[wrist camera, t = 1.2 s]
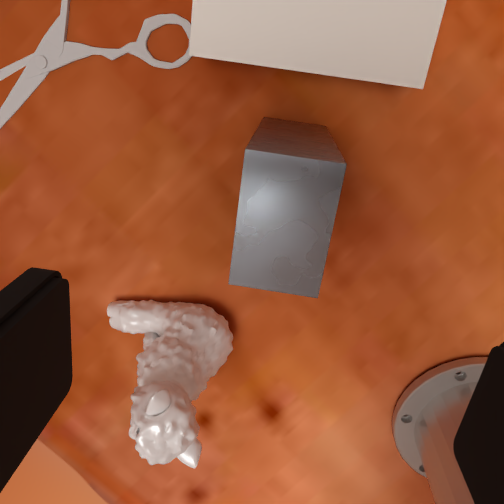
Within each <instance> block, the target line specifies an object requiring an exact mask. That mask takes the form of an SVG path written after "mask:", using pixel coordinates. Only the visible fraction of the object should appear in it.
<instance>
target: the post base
mask: <svg viewBox="0 0 504 504" xmlns="http://www.w3.org/2000/svg"><path fill="white" fill-rule="evenodd" d="M446 1H447V0H193V5H192V20H191V34H190V48H189V56H196V57H203V58H210V59H217V60H224V61H231V62H238V63H245V64H252V65H259V66H266V67H272V68H279V69H286V70H293V71H300V72H307V73H314V74H321V75H328V76H335V77H342V78H349V79H356V80H363V81H370V82H377V83H384V84H391V85H397V86H404V87H411V88H418V89H423V87H424V83H425V80H426V76H427V72H428V68H429V65H430V61H431V57H432V53H433V50H434V46H435V42H436V38H437V35H438V31H439V27H440V23H441V20H442V16H443V12H444V8H445V5H446Z"/></svg>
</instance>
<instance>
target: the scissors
mask: <svg viewBox="0 0 504 504" xmlns="http://www.w3.org/2000/svg"><path fill="white" fill-rule="evenodd" d="M69 7H70V0H62V3H61V12H60V16H59V17H58V18H57V20H56V21H55V22H54V23H53V25H52V26H51V27H50V29H49V30H48V31H47V33H46V34H45V36H44V37H43V39H42V41H41V42H40V44H39V46H38V48H37V49H36V51H35V53H33V54H31V55H29V56H27V57H25V58H23V59H21V60H19V61H17V62H15V63H13V64H11V65H9V66H6V67H4V68H2V69H0V81H1V80H3V79H4V78H6V77H7V76H9V75H11V74H12V73H14V72H16V71H18V70H19V69H21V68H23V67H24V66H26V65H27V66H26V68H25V69H24V71H23V73H22V74H21V76H20V78H19V79H18V81H17V82H16V84H15V86H14V87H13V89H12V91H11V92H10V94H9V96H8V97H7V99H6V100H5V102H4V104H3V105H2V107H1V109H0V129H1V128H2V127H3V126H4V124H5V123H6V122H7V121H8V120H9V119H10V118H11V117H12V116H13V115H14V114H15V112H16V111H17V110H18V109H19V108H20V107H21V106H22V105H23V104H24V102H25V101H26V100H27V99H28V98H29V97H30V95H31V94H32V93H33V92H34V91H35V90H36V88H37V87H38V86H39V85H40V84H41V83H42V81H43V80H44V79H45V78H46V77H47V75H48V74H49V72H50V71H53V70H56V69H58V68H61V67H63V66H65V65H67V64H70V63H72V62H74V61H76V60H80V59H83V58H86V57H89V56H92V55H94V54H95V55H103V56H105V57H107V58H109V59H111V60H115V59H117V58H119V57H121V56H123V55H125V54H127V53H130V54H133V55H135V56H137V57H139V58H141V59H143V60H144V61H145V62H147V63H148V64H150V65H152V66H154V67H159V68H165V69H172V68H177V67H180V66H182V65H183V64H185V63H186V62H188V61H189V60H190V58H191V57H192V56H189V48H190V34H191V24H190V23H189V21H188V20H186V19H184V18H182V17H180V16H178V15H176V14H159V15H156V16H153V17H150V18H147V19H145V20H144V23H143V26H142V28H141V31H140V34H139V36H138V39H137V42H130V43H128V44H127V45H125V46H123V47H122V48H120V49H106V48H97V47H91V46H88V45H85V44H82V43H75V42H67V41H66V37H67V28H68V19H69ZM166 24H179V25H181V26H182V27H183V29H184V30H185V32H186V33H187V36H188V38H189V48H188V50H187V52H186V54H185V55H184V56H182V57H181V58H180V59H178V60H177V61H175V62H173V63H169V62H163V61H159V60H157V59H154V57H153V56H152V55H151V53H150V52H149V51H148V49H147V41H148V39H149V36H150V34H151V32H152V31H154V30H155V29H157V28H159V27H161V26H163V25H166Z"/></svg>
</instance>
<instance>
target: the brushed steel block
mask: <svg viewBox="0 0 504 504" xmlns="http://www.w3.org/2000/svg"><path fill="white" fill-rule="evenodd" d="M346 165H347V164H346V162H345V160H344V158H343V156H342V155H341V153H340V151H339V149H338V147H337V145H336V144H335V142H334V140H333V138H332V136H331V134H330V133H329V131H328V129H327V127H326V126H322V125H315V124H308V123H301V122H295V121H288V120H281V119H274V118H267V117H264V118H263V119H262V121H261V123H260V125H259V126H258V128H257V130H256V131H255V133H254V135H253V137H252V138H251V140H250V142H249V144H248V145H247V147H246V149H245V156H244V164H243V172H242V180H241V188H240V196H239V204H238V212H237V220H236V228H235V236H234V244H233V252H232V260H231V268H230V276H229V284H231V285H237V286H244V287H250V288H256V289H263V290H269V291H276V292H282V293H288V294H295V295H301V296H307V297H314V298H318V294H319V290H320V285H321V280H322V276H323V271H324V267H325V262H326V257H327V253H328V248H329V244H330V239H331V234H332V230H333V225H334V221H335V216H336V211H337V207H338V202H339V197H340V193H341V188H342V184H343V179H344V174H345V170H346Z"/></svg>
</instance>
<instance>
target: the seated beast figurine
mask: <svg viewBox="0 0 504 504" xmlns="http://www.w3.org/2000/svg"><path fill="white" fill-rule="evenodd" d="M107 314H108V316H110V320H109V323H110V325H111V327H112V328H114V329H117V330H120V331H122V332H129V333H131V334H136V333H145V337H144V339H143V344H144V345H143V349H144V352H142V353H139V354H138V355H137V356H136V360H137V361H138V362H139V363H138V365H137V368H138V370H137V375H138V378H137V382H138V386H137V387H135V389H134V393H133V394H131V399H132V401H133V405H132V407H131V422H130V424H131V427H130V430H129V436H130V437H131V438H132V439H134V440H136V442H137V443H136V445H135V449H136V450H137V451H138V452H139V455H140V457H141V458H146V459H147V460H148V463H149V464H150V465H154V464H157V463H158V464H167V463H170V462H171V461H172V460H173V459H174V458H176V457H177V458H178V459H179V460H180V461H181V462H183V463H184V464H186V465H187V466H189V467H192V468H196V467H197V464H198V461H199V458H200V454H201V450H202V446H201V443H200V442H199V440H198V439H197V436H198V433H199V429H200V427H199V425H198V423H197V422H196V419H195V414H196V408H195V407H194V406H193V405H192V403H191V401H192V400H196V399H198V397H199V394H200V393H201V392H202V391H203V390H205V389H206V387H207V382H208V381H209V378H211V377H212V376H215V375H216V373H217V371H218V370H219V368H220V367H221V366H222V365H223V364H224V363H225V362H226V361H227V356H228V355H229V354H230V353H231V351H232V350H233V346H232V340H233V334H232V332H231V331H230V330H229V327H228V321H227V320H225V318H224V316H222V315H219V314H217V313H216V312H215V311H214V309H213V308H212V307H208V306H206V305H204V304H193V303H185V302H182V303H181V302H177V303H174V302H171V301H170V302H168V303H161V302H156V301H154V300H149V301H145V300H142V301H134V300H130V301H123V300H120V301H114V302H111V303H110V304H109V305H108V308H107Z"/></svg>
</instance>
